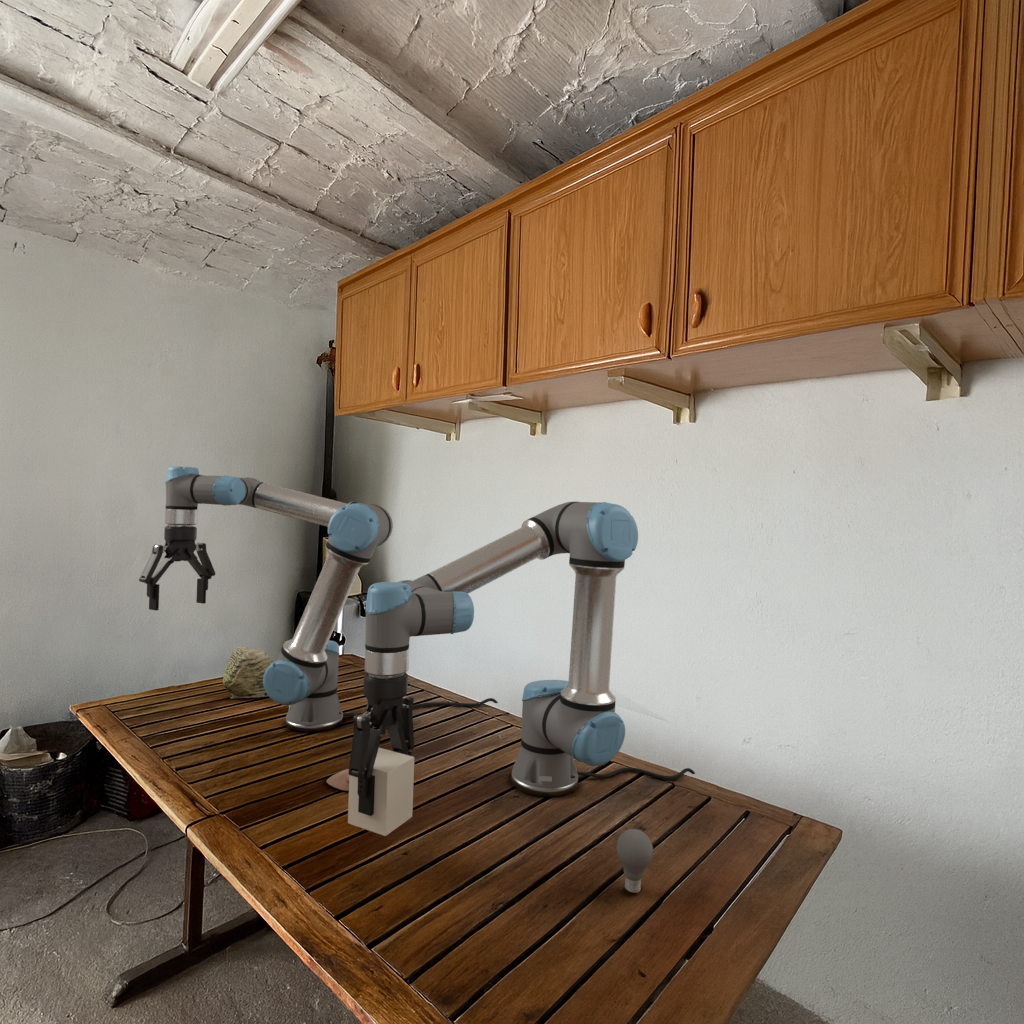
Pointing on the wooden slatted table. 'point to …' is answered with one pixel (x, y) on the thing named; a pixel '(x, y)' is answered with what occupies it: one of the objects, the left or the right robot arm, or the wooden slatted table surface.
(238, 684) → the fossil
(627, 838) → the light bulb
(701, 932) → the wooden slatted table surface
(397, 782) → the brick
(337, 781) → the anatomical model
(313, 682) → the left robot arm
